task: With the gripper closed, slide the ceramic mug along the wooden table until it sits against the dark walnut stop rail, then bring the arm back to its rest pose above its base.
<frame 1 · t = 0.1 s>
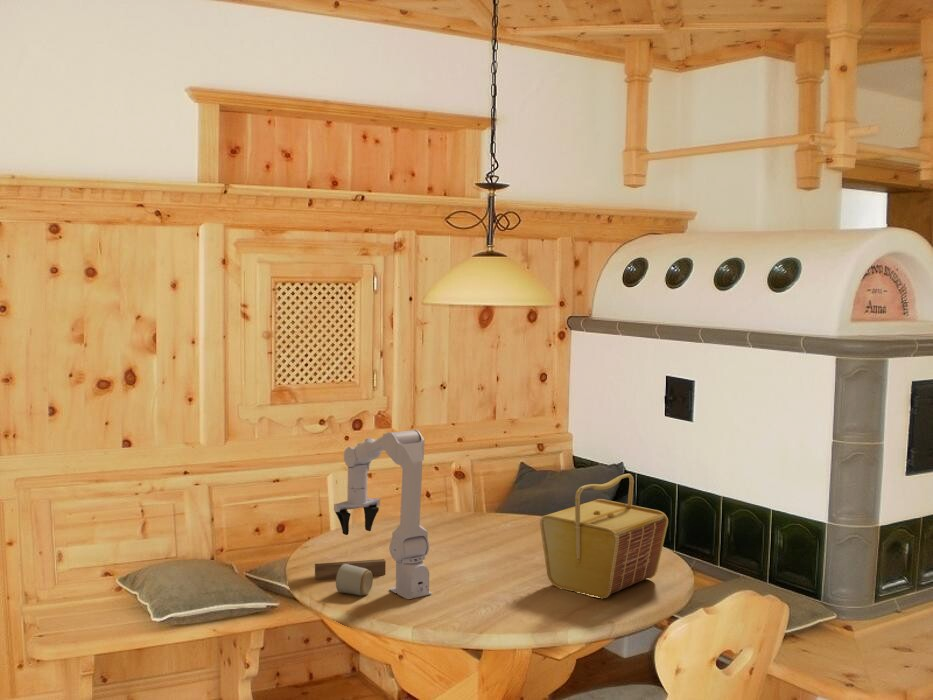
hand: (356, 532, 295), 10 cm above the table, tool pointing down, fingers open, 7 cm apart
stop rail: (350, 576, 286), on the table
picnic basket: (602, 584, 285), on the table
ceramic mug: (356, 592, 273), on the table
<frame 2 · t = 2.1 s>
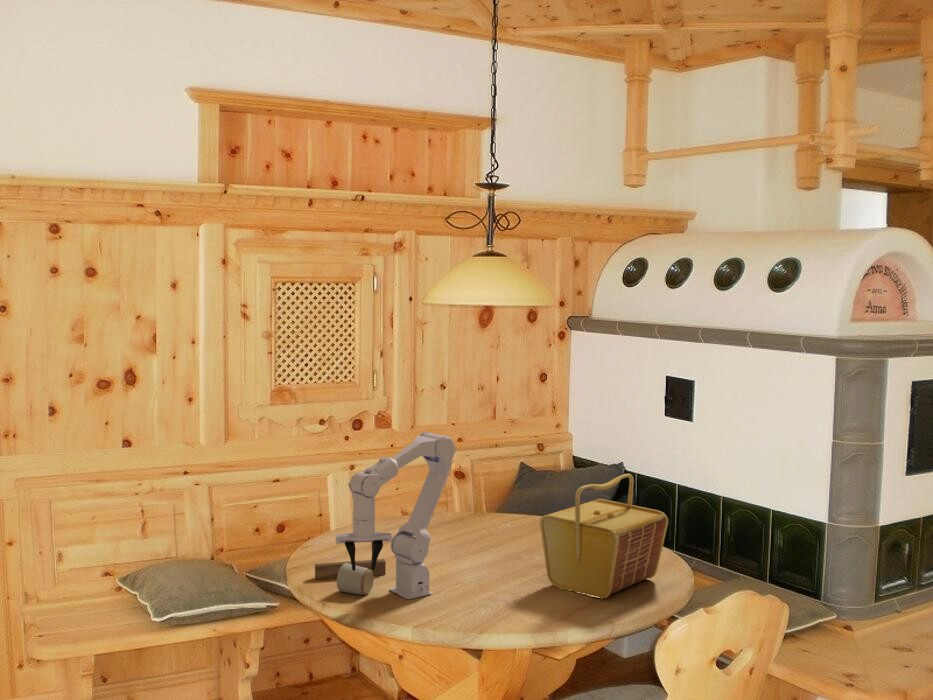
hand: (363, 569, 263), 9 cm above the table, tool pointing down, fingers open, 4 cm apart
nothing on the table moved.
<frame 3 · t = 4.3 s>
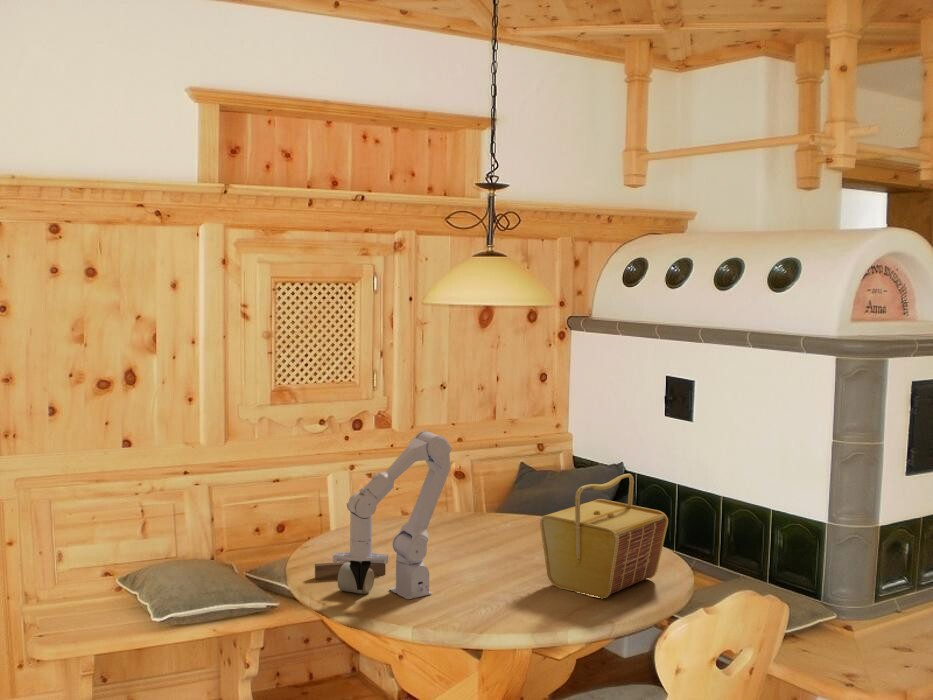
hand: (360, 588, 267), 3 cm above the table, tool pointing down, fingers closed
ceramic mug: (357, 591, 275), on the table, touching gripper
everything else where it was.
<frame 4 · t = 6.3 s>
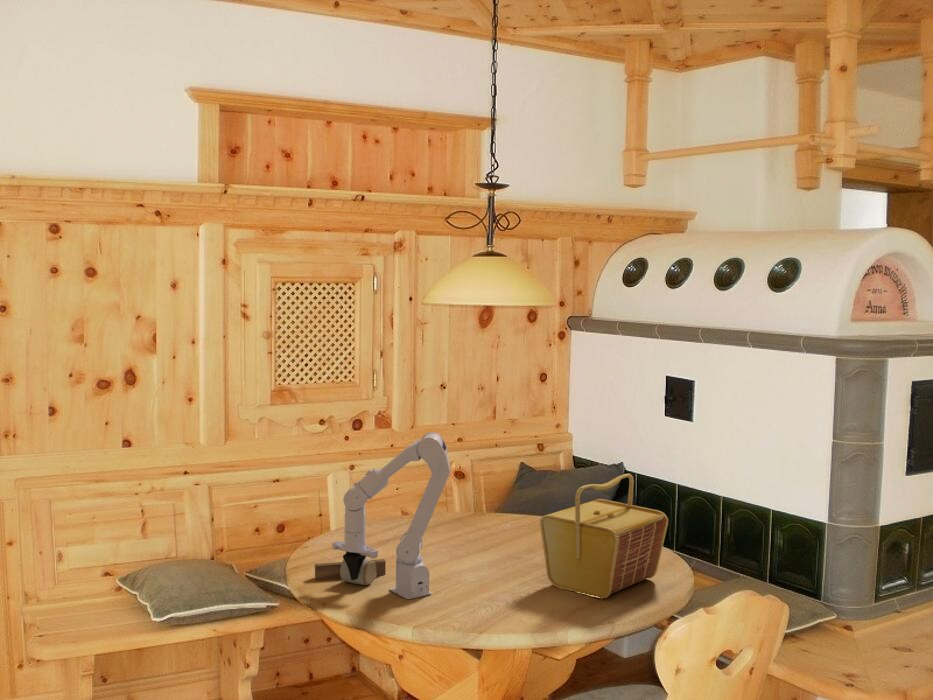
hand: (354, 579, 275), 3 cm above the table, tool pointing down, fingers closed, pressing on ceramic mug
ceramic mug: (360, 582, 282), on the table, touching gripper, stop rail
everything else where it was.
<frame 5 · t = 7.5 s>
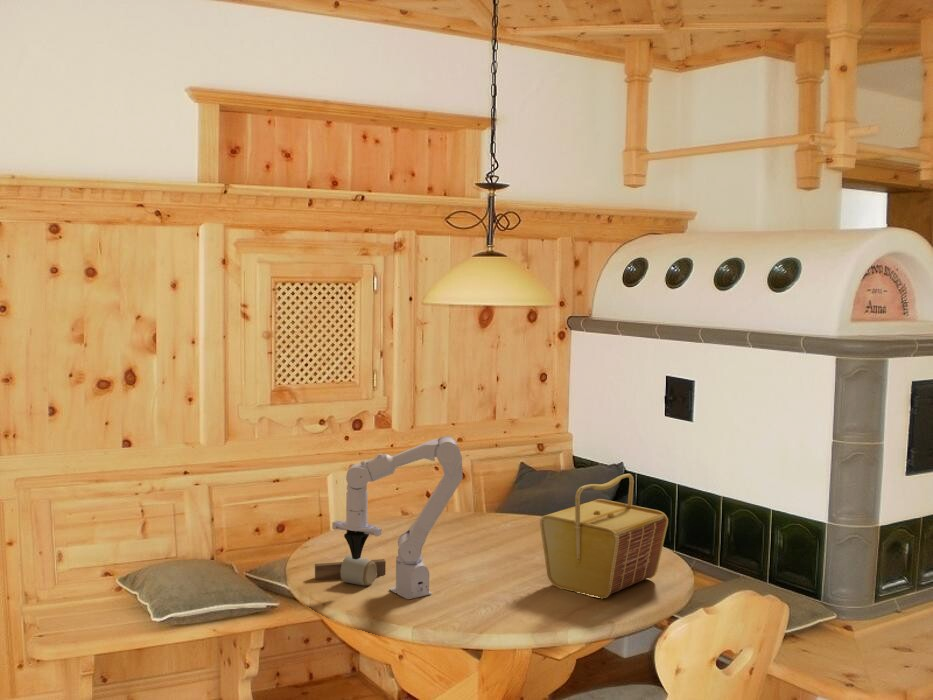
hand: (356, 558, 272), 9 cm above the table, tool pointing down, fingers closed
ceramic mug: (360, 583, 282), on the table, touching stop rail
everything else where it was.
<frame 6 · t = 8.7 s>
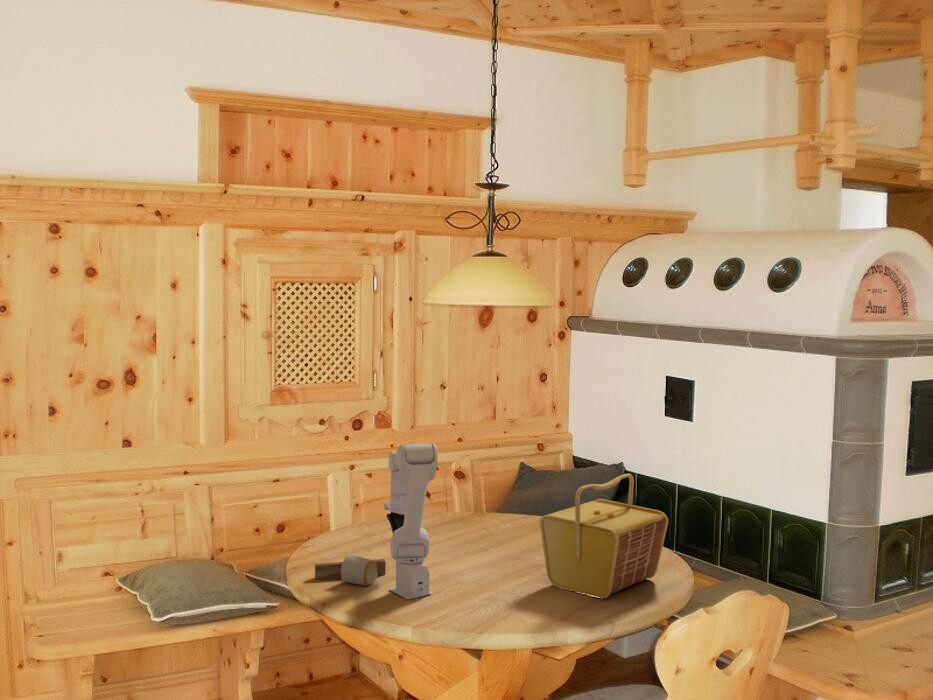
hand: (399, 539, 288), 10 cm above the table, tool pointing down, fingers closed
ceramic mug: (360, 582, 282), on the table
everything else where it was.
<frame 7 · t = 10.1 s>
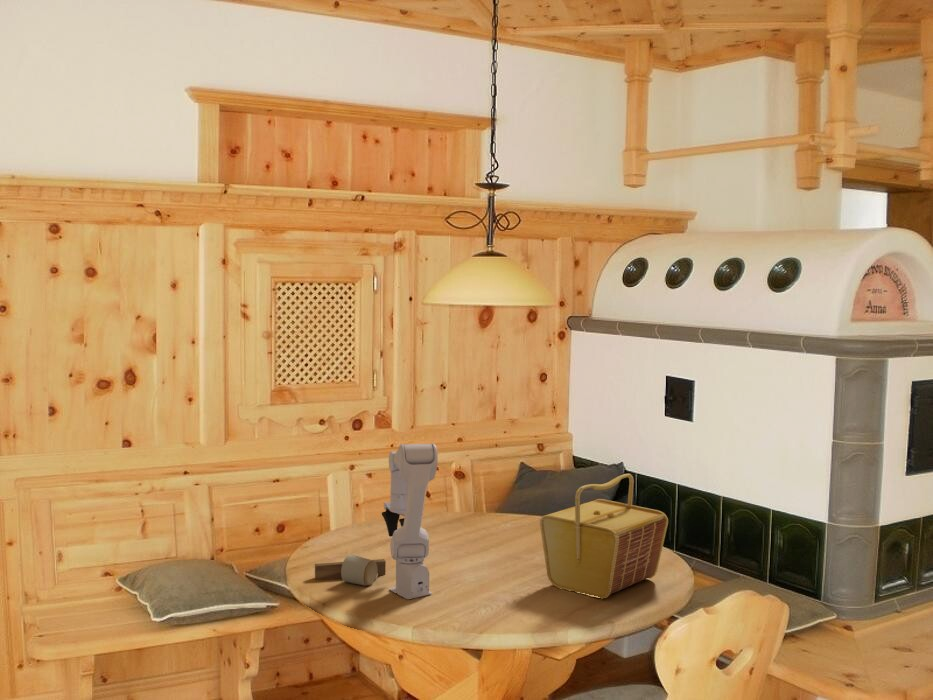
hand: (399, 539, 288), 10 cm above the table, tool pointing down, fingers open, 7 cm apart
nothing on the table moved.
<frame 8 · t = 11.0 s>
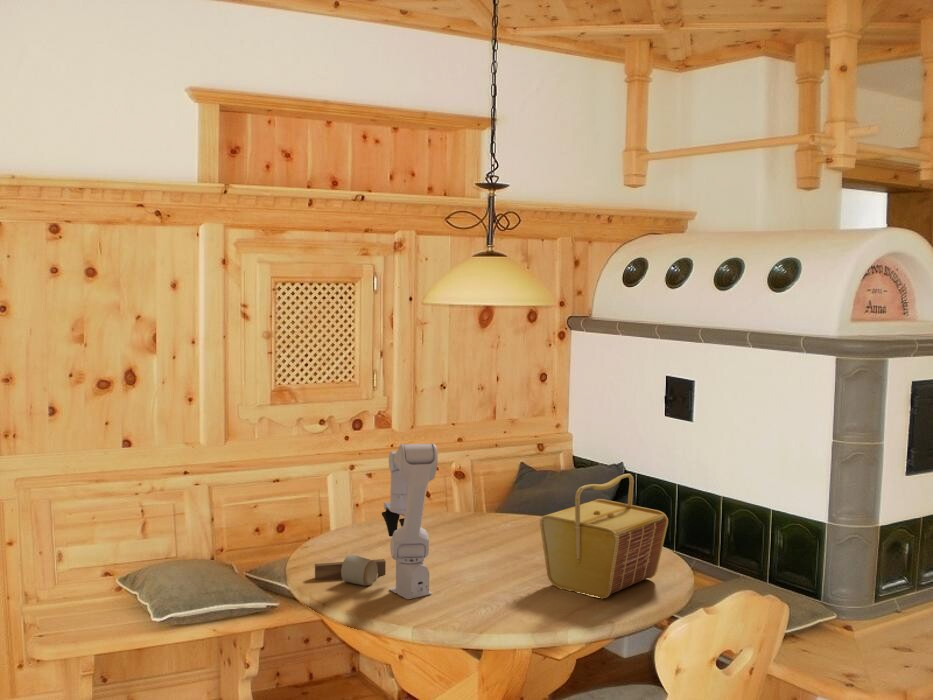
hand: (399, 539, 288), 10 cm above the table, tool pointing down, fingers open, 7 cm apart
nothing on the table moved.
at the end: ceramic mug 6.0 cm from the stop rail (horizontally); ceramic mug tilted 0° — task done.
